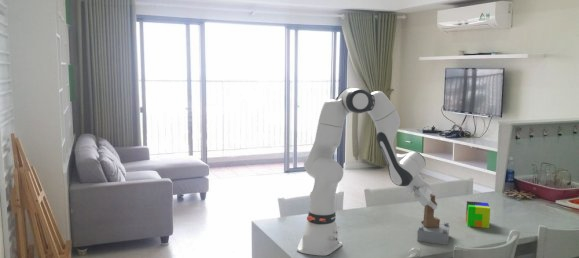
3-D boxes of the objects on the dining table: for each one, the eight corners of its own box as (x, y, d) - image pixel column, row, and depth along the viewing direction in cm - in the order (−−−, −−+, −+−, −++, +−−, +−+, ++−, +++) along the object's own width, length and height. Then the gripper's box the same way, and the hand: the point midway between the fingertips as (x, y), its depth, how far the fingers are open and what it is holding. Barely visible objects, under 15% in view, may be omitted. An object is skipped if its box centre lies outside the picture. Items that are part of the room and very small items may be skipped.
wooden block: (426, 227, 219) (428, 195, 217) (422, 225, 223) (425, 193, 221) (439, 227, 221) (442, 195, 219) (435, 224, 224) (438, 193, 222)
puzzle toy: (486, 221, 246) (487, 202, 244) (489, 228, 236) (490, 208, 235) (465, 220, 248) (466, 201, 247) (467, 226, 239) (468, 206, 237)
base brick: (447, 244, 213) (448, 231, 212) (417, 240, 217) (417, 227, 216) (448, 235, 225) (449, 222, 224) (420, 231, 229) (420, 219, 228)
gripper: (417, 184, 210) (440, 209, 208) (422, 175, 229) (442, 197, 227) (407, 193, 213) (429, 217, 210) (412, 183, 232) (432, 205, 229)
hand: (436, 207), depth 219 cm, fingers closed on wooden block, 4 cm apart
